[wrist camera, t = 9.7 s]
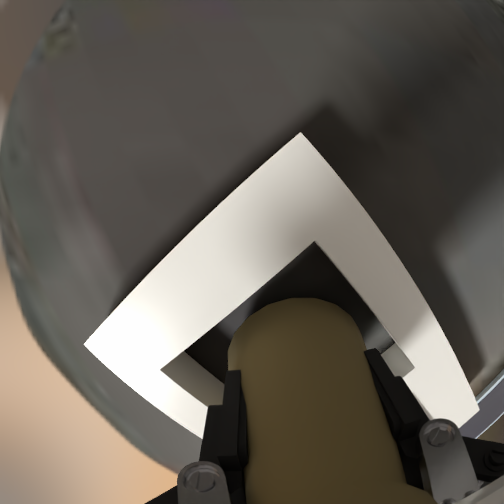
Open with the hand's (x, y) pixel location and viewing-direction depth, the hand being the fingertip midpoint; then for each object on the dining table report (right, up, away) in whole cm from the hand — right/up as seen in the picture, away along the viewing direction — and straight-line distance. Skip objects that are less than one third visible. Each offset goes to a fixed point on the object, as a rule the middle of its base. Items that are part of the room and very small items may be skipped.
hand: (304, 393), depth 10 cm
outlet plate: (+2, -1, +4) cm, 5 cm away
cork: (0, +1, +2) cm, 3 cm away
